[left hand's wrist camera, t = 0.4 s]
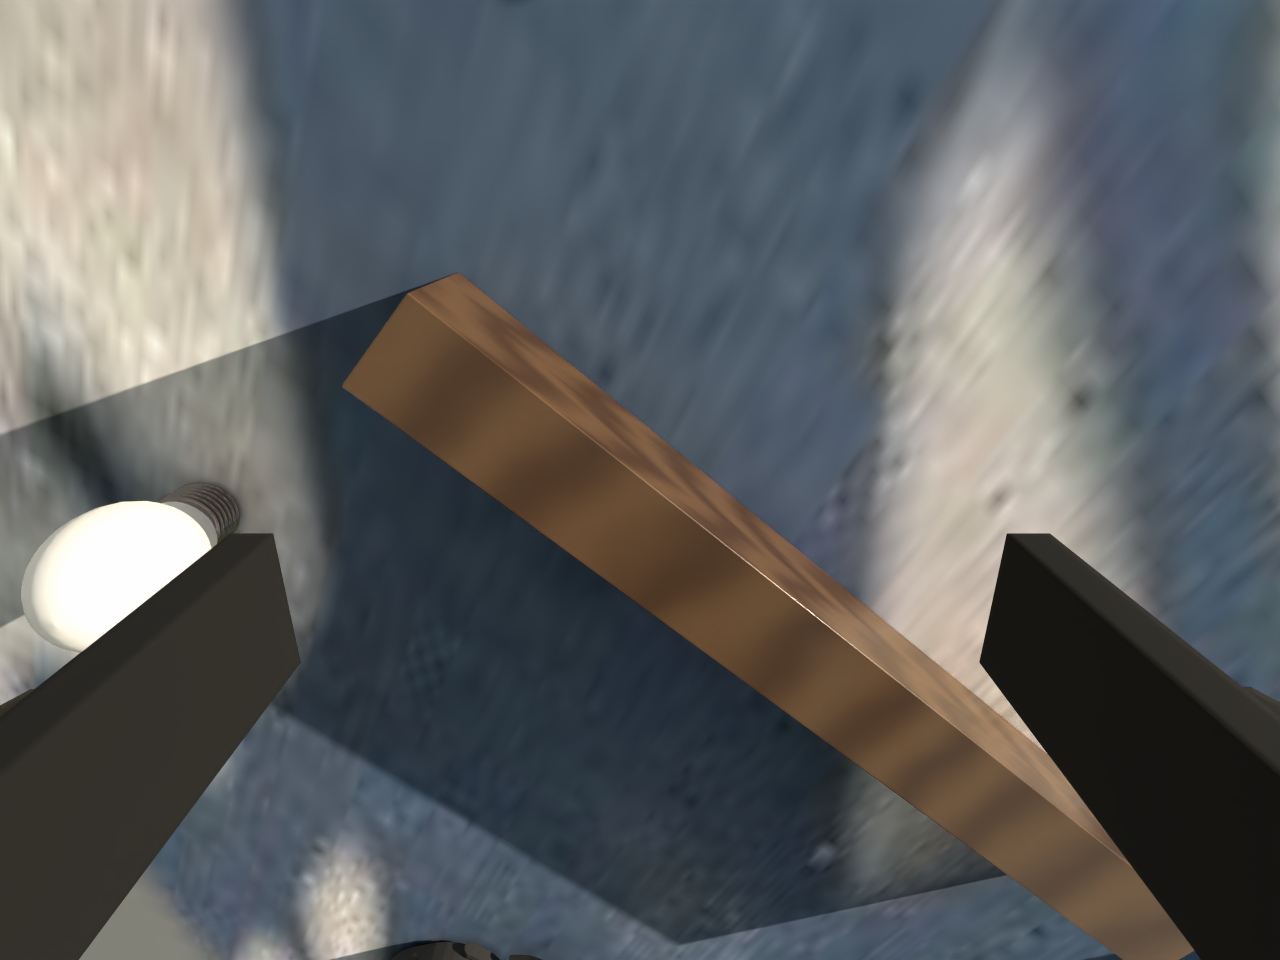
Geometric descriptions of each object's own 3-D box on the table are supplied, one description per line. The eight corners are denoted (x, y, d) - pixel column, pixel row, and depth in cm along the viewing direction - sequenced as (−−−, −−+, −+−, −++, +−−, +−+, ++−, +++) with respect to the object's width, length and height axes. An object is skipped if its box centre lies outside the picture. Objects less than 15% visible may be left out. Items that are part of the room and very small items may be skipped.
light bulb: (208, 439, 38) (48, 527, 28) (290, 534, 40) (169, 649, 30) (119, 495, 39) (-65, 600, 29) (203, 585, 42) (60, 711, 31)
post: (403, 347, 36) (340, 386, 29) (457, 271, 35) (407, 292, 27) (1072, 861, 50) (1147, 978, 43) (1132, 823, 49) (1220, 936, 41)
